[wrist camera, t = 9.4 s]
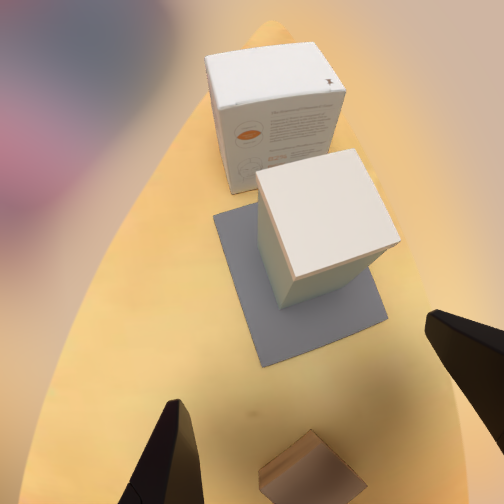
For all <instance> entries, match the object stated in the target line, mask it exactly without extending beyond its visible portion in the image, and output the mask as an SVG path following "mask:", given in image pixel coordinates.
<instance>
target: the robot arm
mask: <svg viewBox="0 0 504 504" xmlns="http://www.w3.org/2000/svg"><path fill="white" fill-rule="evenodd" d="M425 334H426V337H427V338H428V340H429V342H430V343H431V345H432V347H433V348H434V350H435V352H436V353H437V355H438V357H439V359H440V360H441V362H442V364H443V365H444V367H445V368H446V370H447V371H448V372H449V374H450V375H451V376H452V378H453V379H454V380H455V382H456V383H457V385H458V386H459V388H460V389H461V390H462V392H463V393H464V395H465V396H466V398H467V399H468V401H469V402H470V403H471V405H472V406H473V408H474V409H475V411H476V412H477V414H478V415H479V417H480V418H481V420H482V421H483V423H484V424H485V426H486V427H487V429H488V430H489V432H490V434H491V435H492V436H493V438H494V440H495V441H496V442H497V445H498V446H499V448H500V450H501V451H502V453H503V455H504V331H503V330H499V329H497V328H494V327H490V326H487V325H484V324H481V323H478V322H475V321H472V320H469V319H466V318H463V317H460V316H456V315H453V314H450V313H447V312H444V311H441V310H438V309H436V310H433V311H431V312H429V313H428V314H427V317H426V324H425ZM129 482H130V483H128V484H127V487H126V489H125V491H124V493H123V495H122V497H121V499H120V500H119V502H118V504H204V497H203V489H202V480H201V471H200V461H199V455H198V450H197V445H196V441H195V436H194V432H193V427H192V422H191V418H190V415H189V412H188V411H187V409H186V407H185V406H184V404H183V403H182V401H181V400H180V399H174V400H170V401H168V402H167V403H166V405H165V408H164V410H163V412H162V414H161V416H160V418H159V420H158V422H157V424H156V426H155V428H154V430H153V432H152V434H151V436H150V439H149V441H148V443H147V445H146V447H145V449H144V451H143V453H142V455H141V457H140V459H139V462H138V464H137V466H136V468H135V470H134V472H133V474H132V476H131V478H130V480H129Z"/></svg>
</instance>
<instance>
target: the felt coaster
mask: <svg viewBox="0 0 504 504" xmlns="http://www.w3.org/2000/svg"><path fill="white" fill-rule="evenodd" d="M213 218H214V221H215V225H216V228H217V231H218V234H219V237H220V241H221V244H222V247H223V250H224V253H225V256H226V260H227V263H228V266H229V269H230V272H231V275H232V278H233V281H234V284H235V287H236V291H237V294H238V297H239V300H240V303H241V306H242V309H243V312H244V315H245V318H246V321H247V324H248V327H249V330H250V333H251V336H252V339H253V342H254V345H255V348H256V351H257V354H258V357H259V360H260V363H261V365H262V367H265V366H268V365H271V364H274V363H277V362H280V361H283V360H286V359H289V358H292V357H295V356H297V355H300V354H303V353H306V352H308V351H311V350H314V349H316V348H319V347H322V346H324V345H327V344H329V343H332V342H334V341H337V340H339V339H342V338H344V337H347V336H349V335H352V334H354V333H356V332H359V331H361V330H364V329H366V328H368V327H371V326H373V325H375V324H377V323H380V322H382V321H384V320H386V319H388V316H387V313H386V311H385V308H384V305H383V303H382V300H381V297H380V295H379V292H378V290H377V287H376V285H375V282H374V280H373V277H372V275H371V272H370V270H369V267H367V268H366V269H364V270H363V271H362V272H361V273H360V274H359V275H357V276H356V277H355V278H354V279H353V280H351V281H350V282H349V283H348V284H347V285H345V286H344V287H343V288H341V289H338V290H335V291H332V292H329V293H327V294H324V295H321V296H318V297H315V298H312V299H310V300H307V301H304V302H301V303H298V304H295V305H292V306H289V307H286V308H283V309H280V310H279V308H278V305H277V302H276V299H275V296H274V293H273V290H272V287H271V284H270V281H269V278H268V276H267V273H266V270H265V267H264V264H263V261H262V258H261V255H260V252H259V250H258V247H257V239H258V202H257V203H253V204H250V205H246V206H243V207H240V208H236V209H233V210H230V211H227V212H223V213H220V214H217V215H214V216H213Z"/></svg>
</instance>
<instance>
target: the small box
mask: <svg viewBox="0 0 504 504" xmlns="http://www.w3.org/2000/svg"><path fill="white" fill-rule="evenodd" d="M204 61H205V67H206V73H207V79H208V85H209V91H210V98H211V106H212V111H213V117H214V122H215V128H216V133H217V139H218V144H219V149H220V153H221V157H222V161H223V165H224V169H225V173H226V177H227V181H228V184H229V188H230V192H231V194H236V193H240V192H245V191H249V190H253V189H258V185H257V182H256V172H257V171H260V170H264V169H268V168H272V167H276V166H279V165H283V164H287V163H291V162H295V161H300V160H304V159H308V158H312V157H316V156H321V155H325V154H327V153H328V150H329V147H330V143H331V141H332V137H333V134H334V130H335V127H336V124H337V121H338V118H339V114H340V111H341V108H342V104H343V101H344V97H345V93H346V89H345V88H344V86H343V84H342V83H341V81H340V79H339V78H338V76H337V75H336V73H335V72H334V70H333V69H332V67H331V66H330V64H329V63H328V61H327V60H326V58H325V57H324V55H323V54H322V53H321V51H320V50H319V48H318V47H317V46H316V44H315V43H314V42H304V43H292V44H281V45H272V46H264V47H256V48H249V49H242V50H237V51H230V52H225V53H219V54H215V55H209V56H205V58H204Z"/></svg>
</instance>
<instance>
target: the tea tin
mask: <svg viewBox="0 0 504 504" xmlns="http://www.w3.org/2000/svg"><path fill="white" fill-rule="evenodd" d="M256 182H257V185H258V239H257V247H258V250H259V252H260V255H261V258H262V261H263V264H264V267H265V270H266V273H267V276H268V278H269V281H270V284H271V287H272V290H273V293H274V296H275V299H276V302H277V305H278V308H279V310H280V309H283V308H286V307H289V306H292V305H295V304H298V303H301V302H304V301H307V300H310V299H312V298H315V297H318V296H321V295H324V294H327V293H329V292H332V291H335V290H338V289H341V288H343V287H344V286H345V285H347V284H348V283H349V282H350V281H351V280H353V279H354V278H355V277H356V276H357V275H359V274H360V273H361V272H362V271H363V270H364V269H366V268H367V267H368V266H369V265H370V264H371V263H372V262H374V261H375V260H376V259H377V258H378V257H379V256H380V255H382V254H383V253H384V252H385V251H386V250H387V249H389V248H392V247H394V246H396V245H397V244H398V243H399V242H400V241H401V239H400V237H399V235H398V233H397V230H396V228H395V226H394V224H393V222H392V220H391V217H390V215H389V213H388V211H387V209H386V207H385V205H384V203H383V201H382V199H381V197H380V195H379V193H378V191H377V189H376V187H375V185H374V183H373V181H372V180H371V178H370V176H369V174H368V172H367V170H366V168H365V166H364V165H363V163H362V161H361V159H360V157H359V156H358V154H357V152H356V150H355V149H354V148H352V149H348V150H343V151H338V152H334V153H329V154H325V155H321V156H316V157H312V158H308V159H304V160H300V161H295V162H291V163H287V164H283V165H279V166H276V167H272V168H268V169H264V170H260V171H257V172H256Z"/></svg>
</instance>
